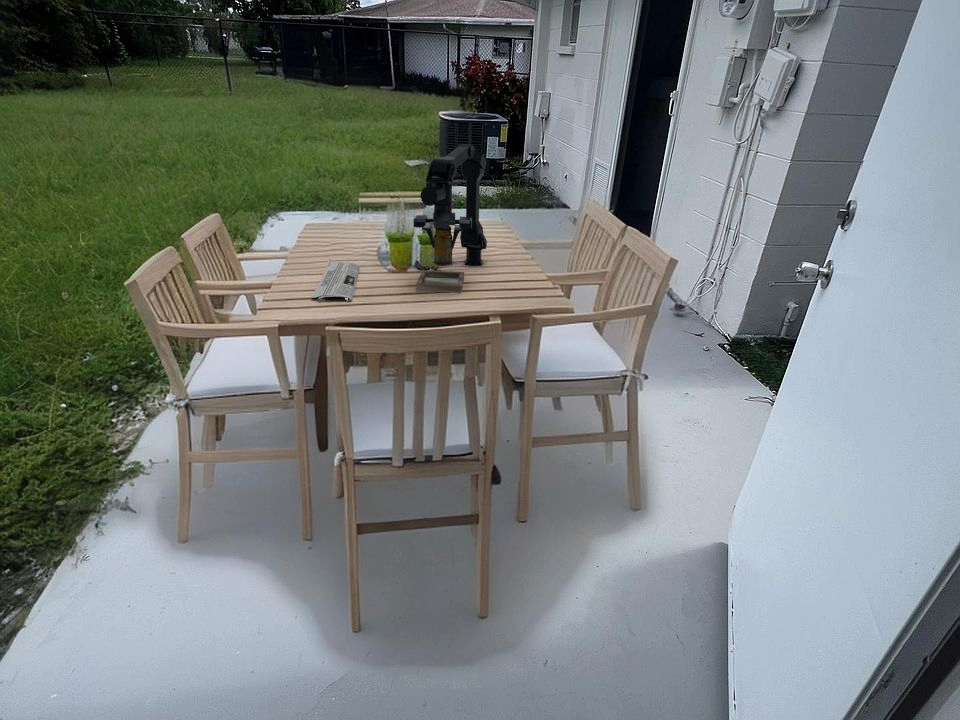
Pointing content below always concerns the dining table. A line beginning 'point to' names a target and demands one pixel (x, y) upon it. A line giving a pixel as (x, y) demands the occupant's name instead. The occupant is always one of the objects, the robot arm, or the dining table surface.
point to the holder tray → (440, 281)
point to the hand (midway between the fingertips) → (443, 247)
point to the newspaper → (337, 280)
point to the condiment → (443, 248)
